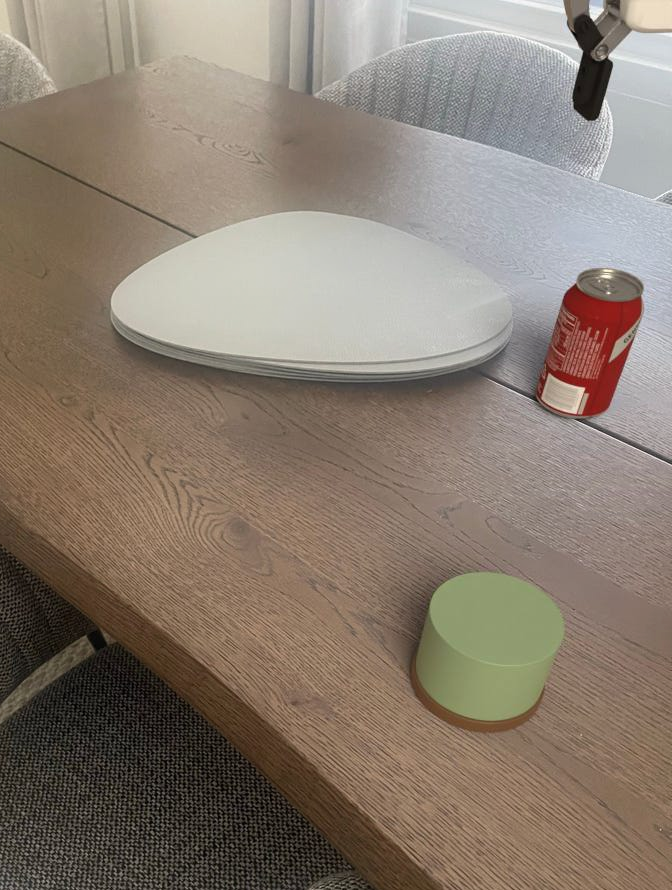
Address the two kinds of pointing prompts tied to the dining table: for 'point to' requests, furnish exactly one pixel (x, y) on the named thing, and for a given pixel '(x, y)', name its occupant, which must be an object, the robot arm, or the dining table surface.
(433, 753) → the dining table surface
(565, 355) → the soda can
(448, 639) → the pedestal
